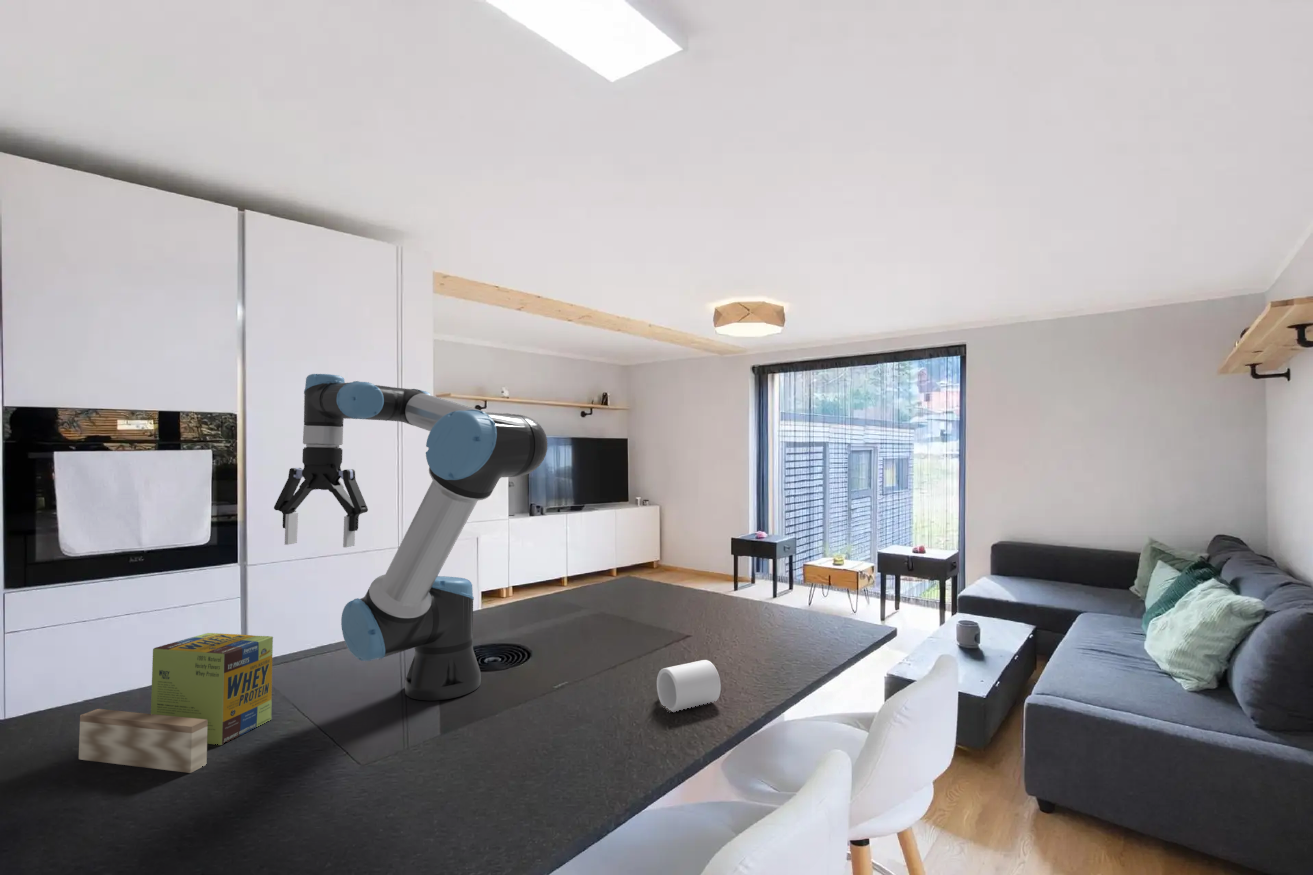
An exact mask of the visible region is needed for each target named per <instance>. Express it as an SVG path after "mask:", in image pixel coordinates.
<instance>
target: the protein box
mask: <svg viewBox="0 0 1313 875" xmlns="http://www.w3.org/2000/svg"><path fill="white" fill-rule="evenodd" d="M273 642H274V637H273V636H269V635H252V634H251V635H250V634H238V633H237V634H233V633H221V632H220V633H218V632H216V633H215V632H214V633H213V632H207V633H203V634H199V635H196V636H192V637H189V638H185V639H182V640H178V641H174V642H170V643H167V644H164V645H160V646H156V647H154V648H152V665H151V666H152V669H151V670H152V671H151V693H150V694H151V697H150V698H151V699H150V714H156V715H166V716H176V717H186V718H196V719H206V720H208V724H207V745H215V744H216V745H215V746H223V745H225V744H226V743H225V742H227V743H229V742H231V741H233V740H235V739H237V738H239V737H241V736H243V735H245V734H247V733H249V732H250V730H251V731H252V729H253V730H255V729H257V728H259V727H260V725H261V726H263V725H265V724H267V723H268V722H267V721H269V722H270V720H271V721H272V700H273V699H272V698H273V697H272V692H273V691H272V690H273V651H274V650H273V648H274V645H273ZM266 722H267V723H266ZM264 723H265V724H264ZM262 724H263V725H262ZM258 726H259V727H258ZM256 727H257V728H256ZM254 728H255V729H254ZM238 736H239V737H238ZM234 738H235V739H234ZM230 740H231V741H230ZM224 743H225V744H224ZM217 744H218V745H217Z"/></svg>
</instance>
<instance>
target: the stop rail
mask: <svg viewBox="0 0 1313 875" xmlns="http://www.w3.org/2000/svg"><path fill="white" fill-rule="evenodd" d="M207 724H208V720H206V719H196V718H186V717H176V716H166V715H156V714H151V713H144V712H134V711H124V710H116V709H115V710H113V709H105V708H104V709H103V708H96V709H93V710H90V711H88V712H86V713H82V714H80V716H79V739H78V740H79V741H78V760H83V761H90V762H97V763H98V762H99V763H106V764H107V763H108V764H113V765H114V764H116V765H121V766H122V765H123V766H124V765H125V766H130V767H131V766H132V767H137V768H138V767H139V768H147V769H154V770H155V769H156V770H162V771H164V770H165V771H171V772H179V773H180V772H181V773H188V774H191V773H194V772H195V771H197V770H199V769H201V768H203V767H205V766H207V765H208V764H207V761H208V760H207V758H208V744H207ZM206 764H207V765H206ZM202 766H203V767H202Z"/></svg>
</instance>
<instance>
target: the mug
mask: <svg viewBox="0 0 1313 875" xmlns="http://www.w3.org/2000/svg"><path fill="white" fill-rule="evenodd" d="M721 689H722V686H721V678H720V675H719V672H718V670H717V668H716V667H715V665H714V663H712V662H711V661H710V660H708V659H701V660H697V661H692V662H688V663H681V664H678V665H673V666H669V667H668V666H667V667H664V668H661V669H659V672H658V673H657V678H656V692H657V696H658V699H659V702H660V704H661V705H663V706H666V708H668V709H669V710H671V711H672V712H673V713H676V711H677V712H679V710H681V711H684V710H683V709H685V710H687V708H689V709H691V707H692V708H696V707H700V706H704V705H708V704H711V703H710V702H712V703H715V702H716V701H717V700H719V697H720V695H721ZM714 701H715V702H714ZM707 703H708V704H707ZM703 704H704V705H703ZM699 705H700V706H699ZM663 706H662V707H663ZM695 706H696V707H695Z"/></svg>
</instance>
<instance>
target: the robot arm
mask: <svg viewBox="0 0 1313 875" xmlns="http://www.w3.org/2000/svg"><path fill="white" fill-rule="evenodd" d="M303 394H304V395H303V398H304V400H303V402H304V403H303V431H302V432H303V433H302V434H303V435H302V444H303V445H305V447H303V448H302V464H303V468H301V467H291V468H289V470H288V471H289V472H288V478H287V480H286V482H285V484H284V486H283V488H282V490H281V491H280V494H279V496H278V498H277V500H276V502H275V504H274V507H273V509H274V511H279V512H280V513H282V528H283V529H284V545H285V546H289V545H294V544H297V543H298V523H299V521H298V520H299V519H298V516H299V513H298V512H297V508H298V507H300V505H301V504H302V503H303V501H304V500H305V499H306V498H307V497H308V496H309V495H310V493H311V492H312V491H313V490H315V491H317V490H321V491H327V490H328V491H329V492H330V493H331V494H333V497H335V499H336V500H337V502H338V503H339V504H340V506H341V507H342V509H343V510H344V511H345V512H346V514H347V515H345V516H343V540H342V541H343V543H342V547H343V548H349V547H350V548H351V547H354V546H355V542H356V541H355V540H356V539H355V537H356V531H357V532H358V530H359V517H360V515H363V514H364V513H367V512H368V511H369V509H368V506H367V504H366V501H365V499H364V496H363V495H362V492H361V489H360V487H359V485H358V483H357V480H356V471H355V469H353V468H352V469H349V468H348V469H343V470H342V468H341V466H342V463H343V449H342V447H340V446H342V445H343V444H344V443H343V442H344V441H343V440H344V439H343V438H344V419H349V420H351V419H353V420H354V419H355V420H369V421H370V420H371V421H386V422H387V421H389V422H400V423H405V424H408V425H410V426H413V427H417V428H418V429H419V428H420V429H422V430H425V431H428V432H429V434H428V436H427V439H426V444H425V447H426V448H428V450H427V451H426V452H425V457H426V462H427V465H428V473H429V476H430V478H431V480H432V481H431V483H430V485H429V487H428V489H427V491H426V493H425V494H424V497H423V499H422V500H421V502H420V505H419V507H418V508H417V511H416V513H415V515H414V517H413V518H412V521H411V522H410V525H409V527H408V529H407V531H406V533H405V534H404V537H403V539H401V540H402V541H401V543H400V545H399V546H398V549H397V550H396V552H395V554H394V557H393V559H392V560H391V563H390V564H389V565H388V566H389V567H388V568H387V570H386V572H385V574H382V575H379V576H377V577H376V578H374V580H373V581H372V582H371V584H370V586H369V587H368V589H367V592H366V594H365V595H364V597H362V598H359V597H358V598H354V599H352V600H350V601H348V602H347V603H346V604H345V606H344V607H343V609H342V613H341V620H340V621H341V622H340V623H341V624H340V625H341V632H342V637H343V640H344V642H345V645H346V647H347V649H348V651H349V652H350V653H351V655H353V657H354V658H356V659H357V660H359V661H362V662H363V661H364V662H370V661H375V660H382V659H384V658H386V657H390V656H392V655H396V654H399V653H402V652H404V651H409V650H410V649H414V654H413V656H412V660H411V662H410V663H411V664H410V666H409V668H408V672H407V675H406V678H405V681H404V694H405V695H406V696H407V697H409V698H411V699H414V700H419V701H443V700H449V699H454V698H459V697H462V696H465V695H468V694H470V693H472V692H474V691H476V690H477V689H479V687H480V686H481V684H482V682H481V681H482V679H481V678H482V677H481V676H482V673H481V669H480V666H479V663H478V661H477V657H476V654H475V651H474V647H473V646H474V645H473V636H474V634H473V626H474V624H473V622H474V620H473V619H474V599H475V598H474V593H473V590H474V589H473V584H472V582H471V581H470V580H469V579H467V578H463V577H459V576H458V577H456V576H445V575H444V576H441V575H439V574H440V572H441V570H442V568H443V566H444V564H445V563H446V561H447V559H448V557H449V555H450V553H451V552H452V549H453V548H454V546H455V544H456V542H457V540H458V539H459V536H460V534H461V533H462V531H463V529H464V527H465V525H466V523H467V522H468V520H469V518H470V516H471V514H472V512H473V510H474V509H475V507H476V505H477V502H479V501H483V500H486V499H488V498H489V497H490V496H491V495H492V493H493V491H494V490H495V488H496V486H497V484H498V482H499V481H500V479H501V478H513V477H514V478H515V477H522V476H525V475H528V474H530V473H532V472H534V471H535V470H537V468H539V466H541V464H542V463H543V461H544V459H545V457H546V456H547V452H548V438H547V435H546V432H545V430H544V428H543V427H542V425H541V424H540V423H538V421H536V420H535V419H533V418H531V417H529V416H527V415H524V414H523V415H522V414H512V413H508V412H506V413H505V412H504V413H502V412H501V413H500V412H488V411H483V410H480V409H478V408H473V407H470V406H468V405H464V404H461V403H457V402H453V401H451V400H447V399H444V398H441V397H437V396H434V395H432V394H431V393H430V392H428V391H426V390H422V389H417V388H404V387H395V386H394V387H393V386H385V385H379V384H374V383H371V382H369V381H368V382H367V381H360V380H357V381H356V380H355V381H352V382H345V378H344V377H343V376H340V375H337V374H329V373H311V374H310V373H309V375H307V376H306V377H305V387H304V390H303ZM302 478H303V479H304V480H303V481H302V483H300V482H301V480H302ZM340 479H341V480H342V481H343V484H344V485H343V484H342V482H341V481H340ZM299 484H300V485H299ZM298 486H299V488H298ZM344 486H345V487H344ZM297 488H298V489H297ZM344 488H345V489H346V490H345V489H344ZM346 491H347V492H346Z"/></svg>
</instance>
